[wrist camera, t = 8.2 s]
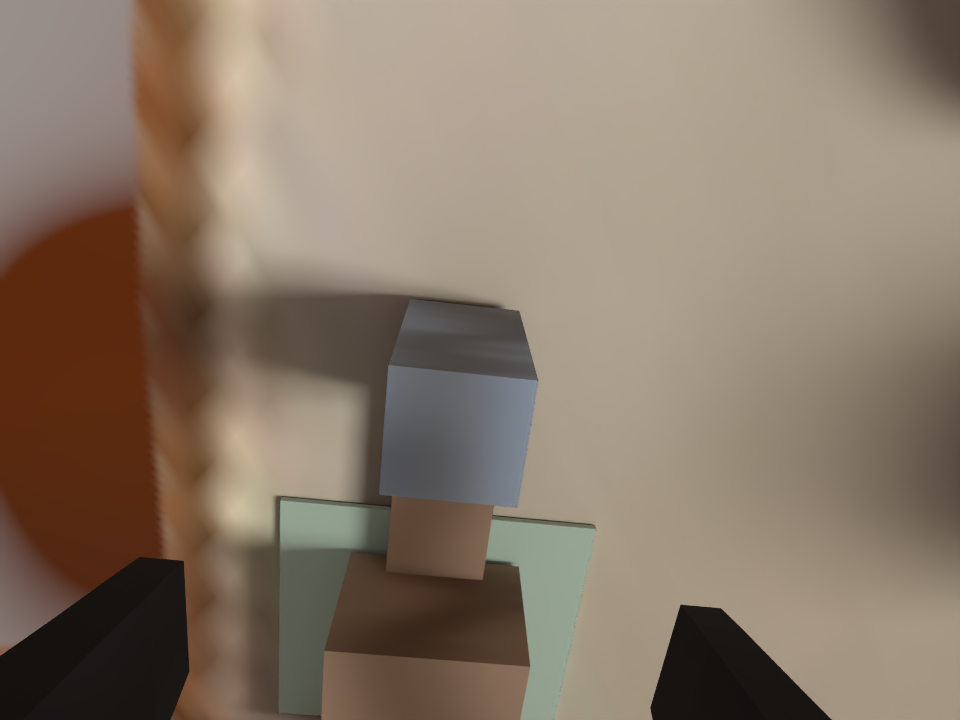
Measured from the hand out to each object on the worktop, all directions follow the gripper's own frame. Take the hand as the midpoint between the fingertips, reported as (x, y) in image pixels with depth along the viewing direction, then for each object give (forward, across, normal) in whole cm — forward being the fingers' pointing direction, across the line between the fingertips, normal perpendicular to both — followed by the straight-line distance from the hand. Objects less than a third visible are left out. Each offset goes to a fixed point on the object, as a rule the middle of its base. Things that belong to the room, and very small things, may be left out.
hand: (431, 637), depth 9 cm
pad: (+10, 0, +9) cm, 13 cm away
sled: (+9, 0, +6) cm, 11 cm away
